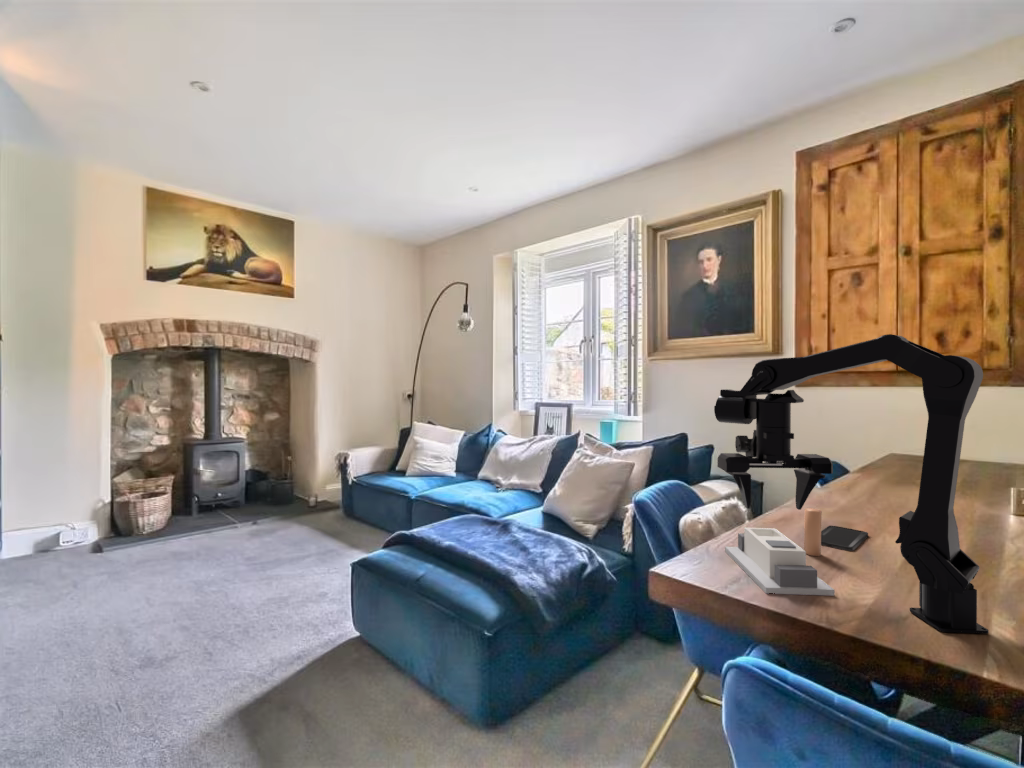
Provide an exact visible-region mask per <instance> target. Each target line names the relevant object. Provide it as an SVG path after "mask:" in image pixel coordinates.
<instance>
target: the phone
mask: <svg viewBox="0 0 1024 768" xmlns="http://www.w3.org/2000/svg"><path fill="white" fill-rule="evenodd" d="M868 537H869V532H868V531H865V530H864V531H863V530H859V529H853V528H848V527H843V526H837V525H828V526H826V527H825V528H824V529H821V546H824V547H830V548H833V549H838V550H842V551H846V552H847V551H849V552H853V551H855V550H856V549H857V548H858V547H859V546H860V545H862V543H863V542H864V541H865V540H866V539H868Z"/></svg>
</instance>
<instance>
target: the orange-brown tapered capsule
mask: <svg viewBox="0 0 1024 768" xmlns="http://www.w3.org/2000/svg"><path fill="white" fill-rule="evenodd" d="M822 518H823V517H822V510H821V509H818V508H817V509H816V508H810V507H809V508H808V507H807V508H804V518H803V519H804V520H803V522H804V528H803V550H805V551H806V555H808V556H811V557H821V555H822V545H821V531H822Z"/></svg>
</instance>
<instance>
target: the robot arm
mask: <svg viewBox="0 0 1024 768" xmlns="http://www.w3.org/2000/svg"><path fill="white" fill-rule="evenodd" d="M882 362H890V363H892V364H894V365H896V367H900V368H902V369H903V370H905V371H907V372H909V373H910V374H913V375H915V376H917V377H918V378H921V382H922V394H923V399H924V404H925V406H926V411H927V417H928V419H927V425H926V426H927V427H926V433H925V434H926V435H925V443H924V450H923V458H922V459H923V460H922V468H921V473H920V474H921V475H920V482H919V491H918V497H917V498H918V499H917V506H916V508H915V511H913V510H909V511H907V512H906V513H904V514H902V515H901V516H900V517H898V527H899V534H898V537H897V539H896V540H895V541H894V542H895V544H900V547H899V549H900V554H901V556H902V558H904V560H906V562H907V563H908V564H909V565H910V566H912V567H913V569H914V571H915V573H916V574H915V575H916V576H917V578H918V581H919V591H918V592H919V595H918V596H919V601H918V603H919V604H918V605H919V607H909V611H910V613H911V614H913V615H915V617H917V618H919V619H921V620H923V621H924V622H925V623H927V624H929V626H932V627H933V628H935V629H936V630H937V631H939V632H942V633H960V634H962V633H963V634H984V635H985V634H986V635H987V634H989V633H990V632H989V631H990V629H988V628H987V627H985V626H984V625H982V624H980V623H978V590H977V589H976V588H975V586H974V584H973V583H972V582H971V581H972V580H974V579H975V577H976V576H977V574H978V572H979V571H980V566H979V565H978V564H977V563H976V561H974V560H973V559H972V558H971V557H970V556H969V555H968V554H967V553H966V552H964V551H963V550H962V549H961V546H960V537H959V528H958V524H957V519H956V516H955V511H954V507H955V499H956V491H957V483H958V476H959V469H960V462H961V461H960V460H961V455H962V454H961V452H962V445H963V438H964V431H965V423H966V418H967V416H968V415H969V412H970V410H971V408H972V406H973V404H974V401H975V400H976V397H977V395H978V392H979V389H980V387H981V384H982V381H983V378H984V373H983V371H984V370H983V369H982V366H981V365H980V364H979V363H978V362H976V361H975V360H974V359H972V358H969V357H966V356H961V355H954V354H953V355H952V354H951V355H950V354H949V355H945V354H942V353H940V352H937V351H936V350H932V349H930V348H928V347H926V346H925V347H924V346H923V345H920V344H917V343H915V342H913V341H911V340H908V339H907V338H906V337H904V336H903V335H896V334H892V333H891V334H890V333H889V334H883V335H880V336H879V337H877V338H873V339H870V340H866V341H861V342H857V343H853V344H849V345H844V346H840V347H837V348H833V349H829V350H826V351H821V352H817V353H813V354H810V355H809V354H808V355H805V356H797V357H781V358H779V357H778V358H772V359H771V358H769V359H762V360H759V361H757V362H756V363H755V364H754V367H753V369H752V371H751V376H750V377H749V378H748V380H747V382H745V384H744V385H743V387H742V388H741V389H740V390H734V389H727V388H726V389H720V390H719V391H720V393H719V396H718V397H717V399H716V401H715V402H716V403H715V405H714V407H713V408H714V410H713V411H714V416H715V419H716V420H717V421H718V422H719V423H725V424H726V423H727V424H738V425H739V424H740V425H751V423H753V421H754V420H756V422H755V425H756V426H755V429H753V432H752V433H753V434H752V438H749V436H748V435H736V436H735V442H734V443H735V444H734V446H735V451H736V453H735V452H733V453H730V452H729V453H727V452H725V453H720V454H719V455H718V457H717V468H719V469H721V470H723V472H725V473H727V474H728V475H730V476H731V477H733V479H734V481H735V483H736V485H737V487H738V490H739V493H740V496H741V498H742V501H743V504H744V506H745V508H746V509H749V510H750V509H751V503H752V474H751V473H748V470H749V469H753V468H757V469H759V468H760V469H793V472H794V474H795V475H794V476H795V478H796V479H795V480H796V483H795V485H796V486H795V508H796V510H798V511H799V510H802V508H803V507H804V504H805V503H806V502H807V499H808V498H809V496H810V495H811V493H812V491H813V489H814V488H815V486H816V485H817V484H818V483H819V482H820V480H821V479H826V475H832V474H834V463H833V462H832V460H831V459H830V457H827V456H823V455H820V454H817V453H796V456H795V455H793V454H791V450H792V449H791V444H792V443H791V440H794V439H795V433H793V432H791V430H792V429H791V428H792V427H791V426H792V425H791V417H792V416H791V414H792V413H791V412H792V410H791V409H792V406H791V405H792V404H800V403H801V404H802V403H804V401H805V400H804V398H803V397H801V396H800V395H799V394H798V393H796V391H795V390H794V389H790V388H792V387H794V386H797V385H799V384H802V383H804V382H806V381H808V380H810V379H812V378H816V377H818V376H823V375H827V374H832V373H837V372H841V371H845V370H850V369H854V368H860V367H864V366H868V365H874V364H877V363H882ZM786 389H788V390H786ZM781 390H782V391H784V390H786V392H784V393H773V392H775V391H781ZM764 395H766V396H765V397H764V398H759V397H757V396H764ZM742 453H745V455H743V454H742ZM794 456H795V457H794Z"/></svg>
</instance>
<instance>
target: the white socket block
mask: <svg viewBox="0 0 1024 768" xmlns="http://www.w3.org/2000/svg"><path fill="white" fill-rule="evenodd" d="M743 529H744V530H743V531H744V552H745V553H746V554H747V555H748V556H749V557H750V558H751V559H752V560H753V561H754V562H755V563H756V565H757V566H758V567H759V568H760V569H761V570H762V571H763V572H764V573H765V574H766V575H767V576H768V577H769V578H775V565H804V566H807V554H806V551H805V550H804V548H802V547H801V546H799V545H798V544H797V543H795V542H794V541H793V540H791V539H790V538H789V537H787V536H786V535H785V534H784V533H782V532H781V531H779V530H778V529H777V528H773V527H772V528H770V527H768V528H767V527H766V528H765V527H743Z"/></svg>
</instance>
